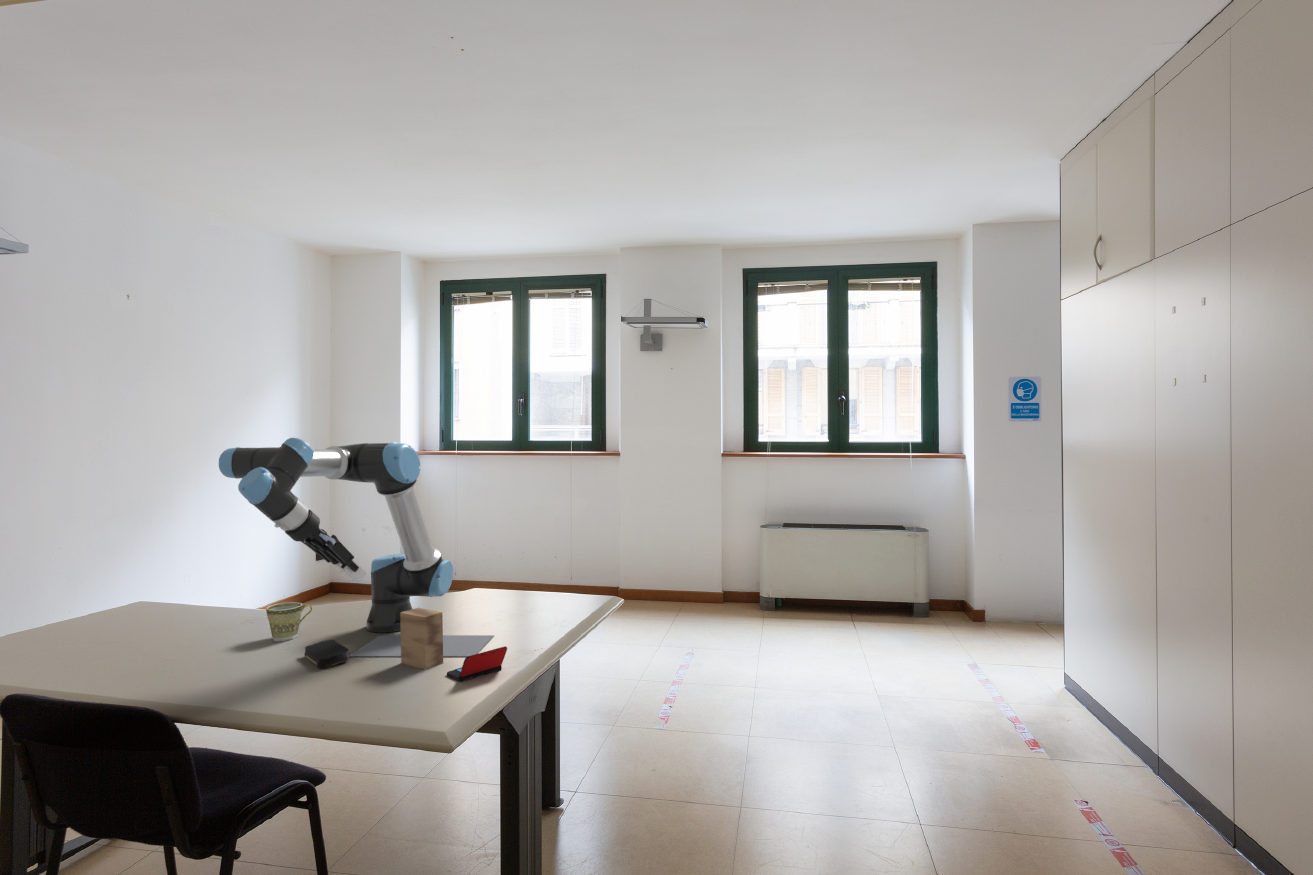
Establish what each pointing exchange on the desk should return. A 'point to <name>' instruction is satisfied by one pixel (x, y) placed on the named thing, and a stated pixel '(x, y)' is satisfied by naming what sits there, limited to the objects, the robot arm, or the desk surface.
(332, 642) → the black sponge
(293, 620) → the ceramic cup
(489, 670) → the handheld game console
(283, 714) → the desk surface
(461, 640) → the felt pad
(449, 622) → the desk surface
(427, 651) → the walnut block
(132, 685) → the desk surface
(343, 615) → the desk surface
